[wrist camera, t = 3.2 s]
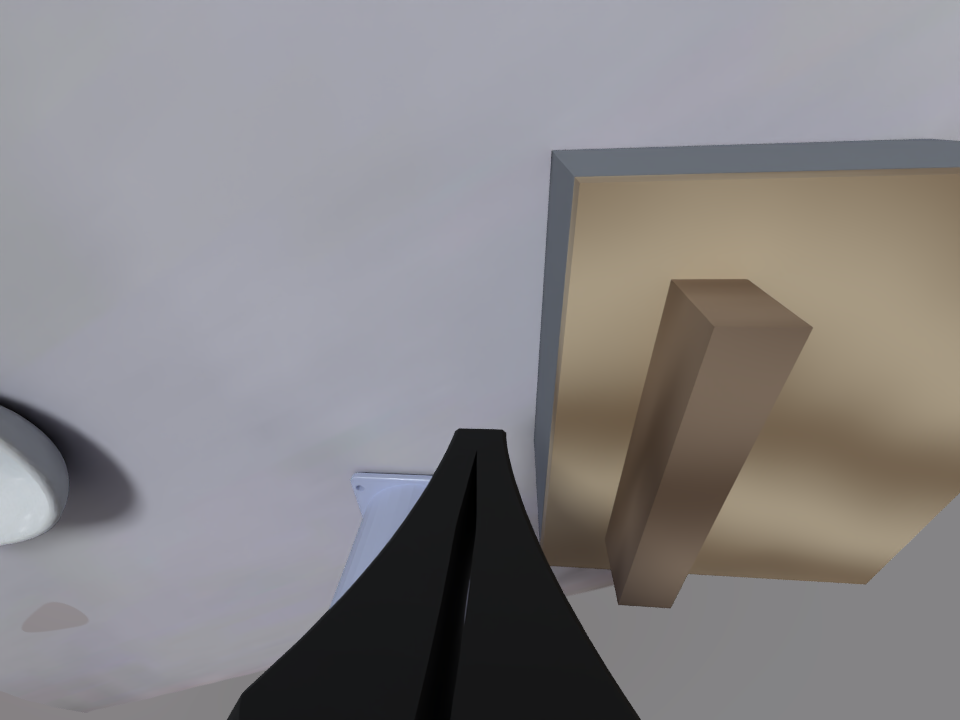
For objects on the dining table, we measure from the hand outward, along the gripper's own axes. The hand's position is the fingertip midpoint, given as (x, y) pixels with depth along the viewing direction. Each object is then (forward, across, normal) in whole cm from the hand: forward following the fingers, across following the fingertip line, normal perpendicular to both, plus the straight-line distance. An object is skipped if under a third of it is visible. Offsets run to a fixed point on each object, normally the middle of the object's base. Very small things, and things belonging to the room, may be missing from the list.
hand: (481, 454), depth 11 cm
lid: (+2, -8, 0) cm, 8 cm away
